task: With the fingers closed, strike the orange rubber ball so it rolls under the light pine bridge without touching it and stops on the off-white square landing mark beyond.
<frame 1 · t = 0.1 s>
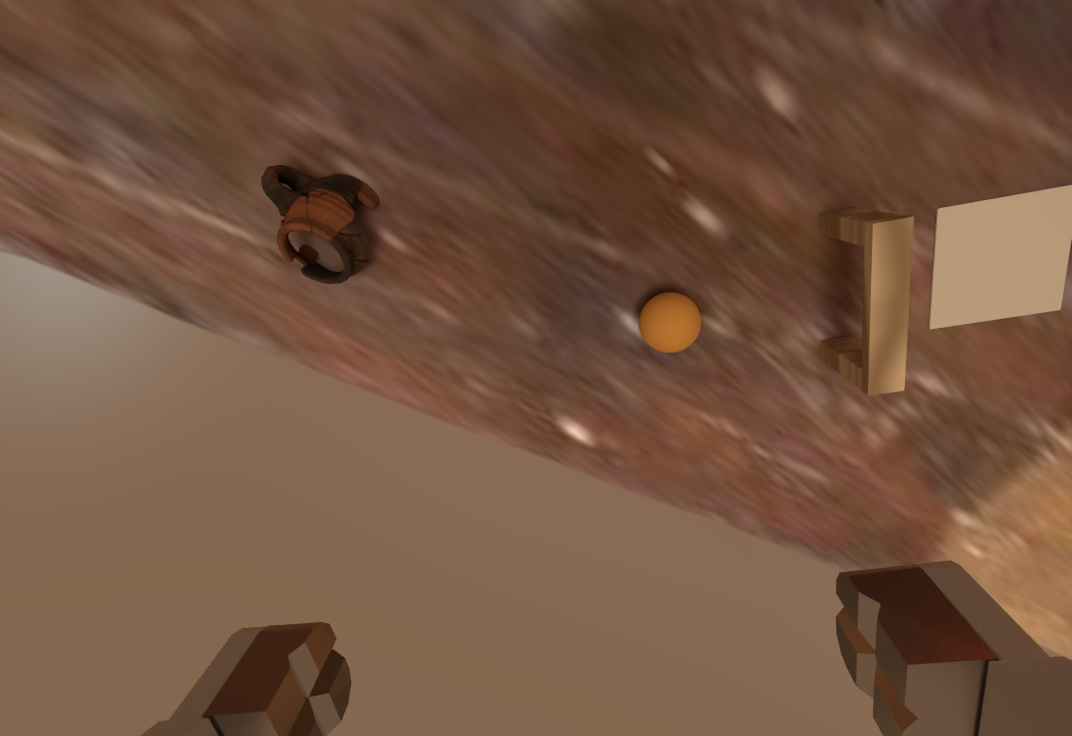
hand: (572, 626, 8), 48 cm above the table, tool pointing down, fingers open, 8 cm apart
landing mark: (999, 260, 51), on the table
bridge: (835, 286, 53), on the table
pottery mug: (335, 216, 54), on the table
ball: (669, 322, 52), on the table
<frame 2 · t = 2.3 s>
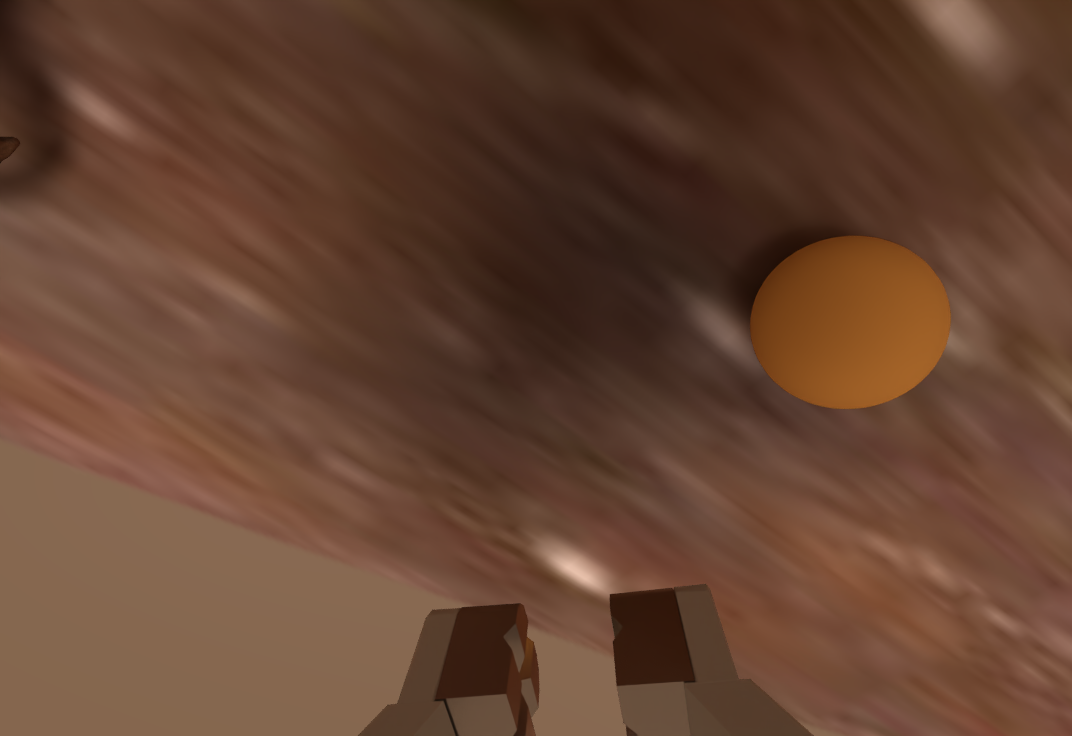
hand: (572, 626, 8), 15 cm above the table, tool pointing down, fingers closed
ball: (842, 323, 18), on the table
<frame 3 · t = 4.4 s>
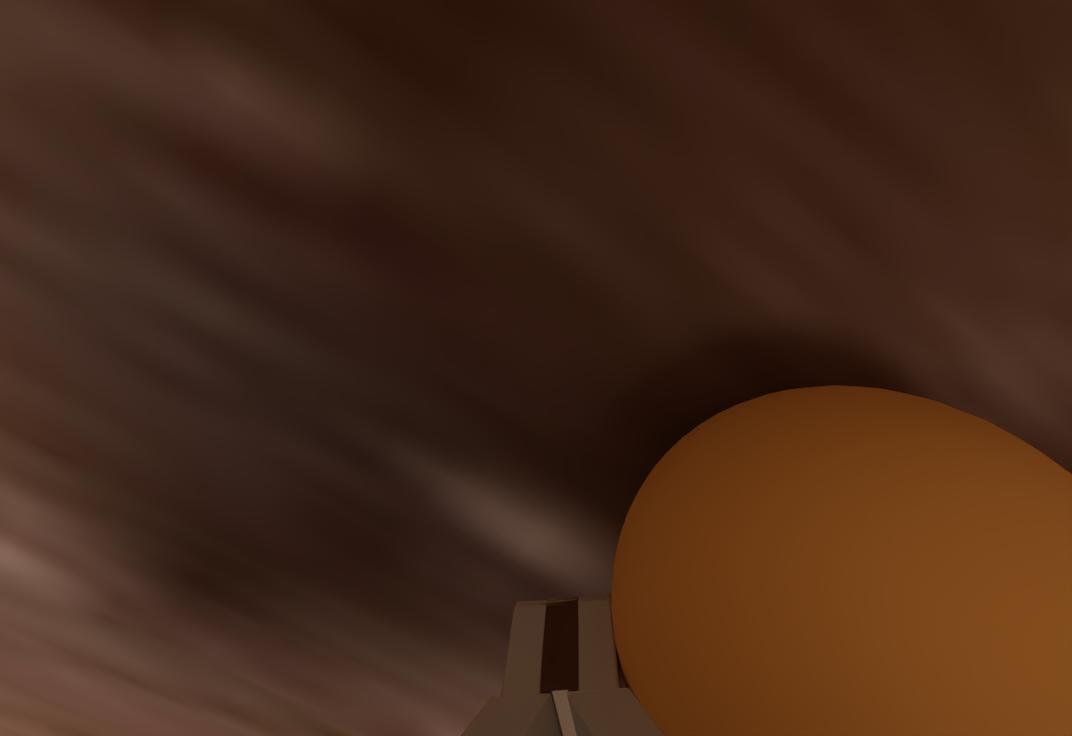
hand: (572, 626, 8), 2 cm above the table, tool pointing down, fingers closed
ball: (841, 613, 7), on the table, touching gripper
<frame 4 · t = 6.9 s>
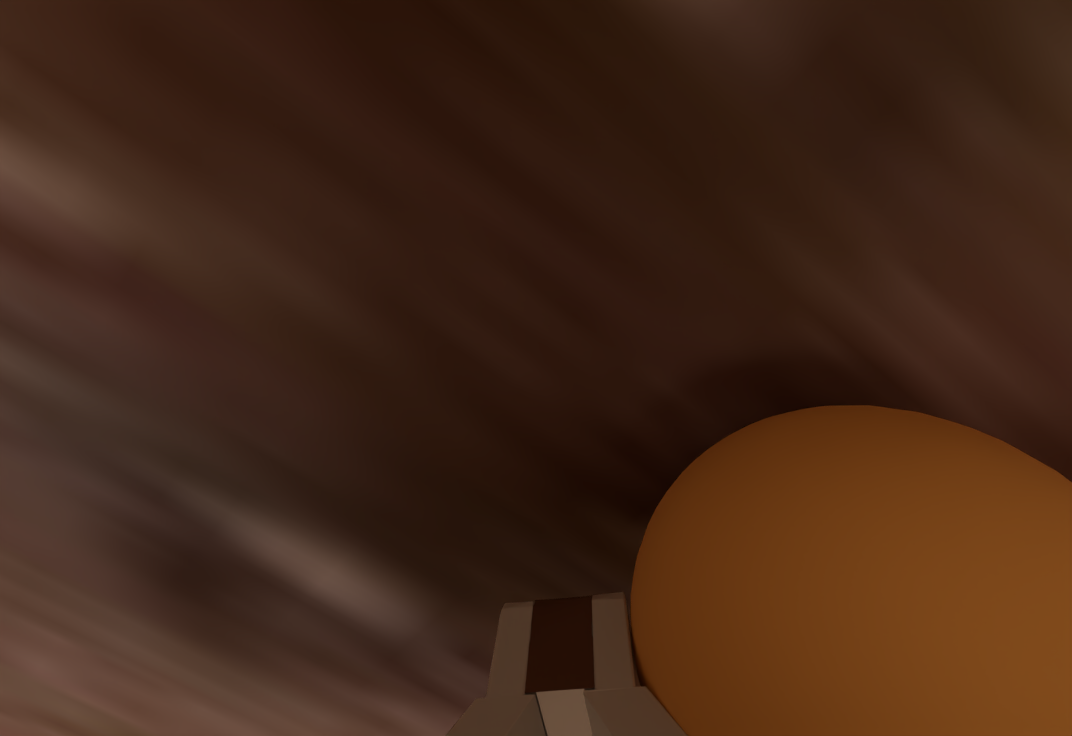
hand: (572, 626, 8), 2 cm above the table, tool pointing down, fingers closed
ball: (859, 631, 7), on the table, touching gripper
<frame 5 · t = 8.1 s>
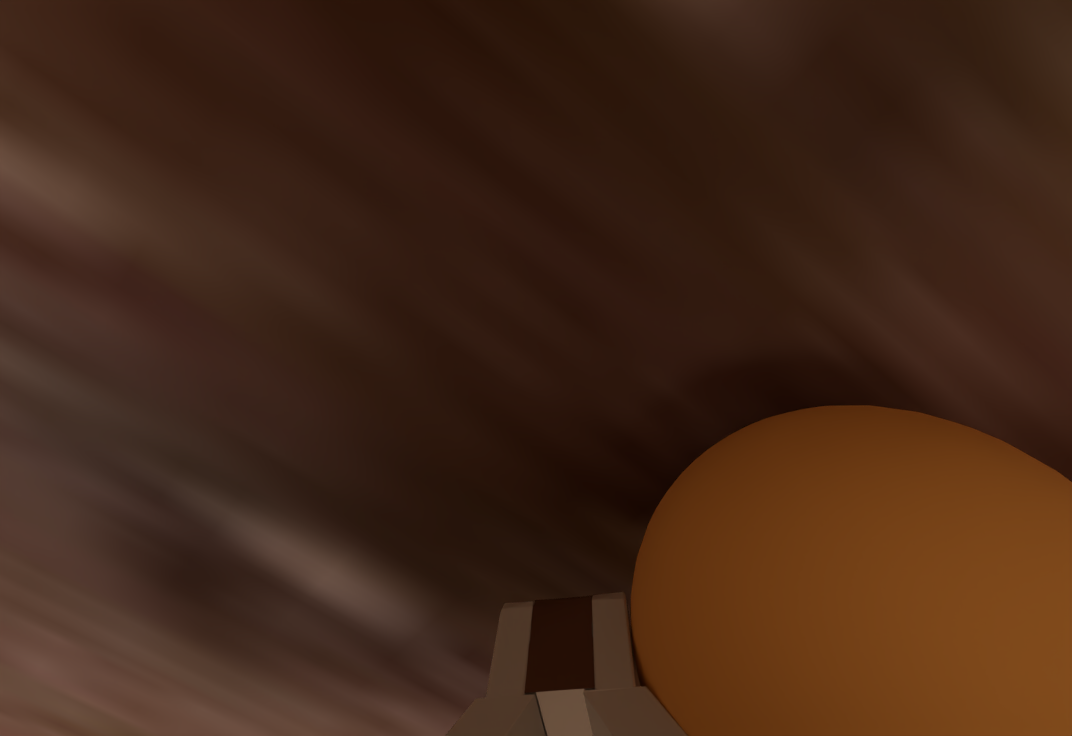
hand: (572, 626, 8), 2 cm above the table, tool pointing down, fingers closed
ball: (860, 631, 7), on the table, touching gripper
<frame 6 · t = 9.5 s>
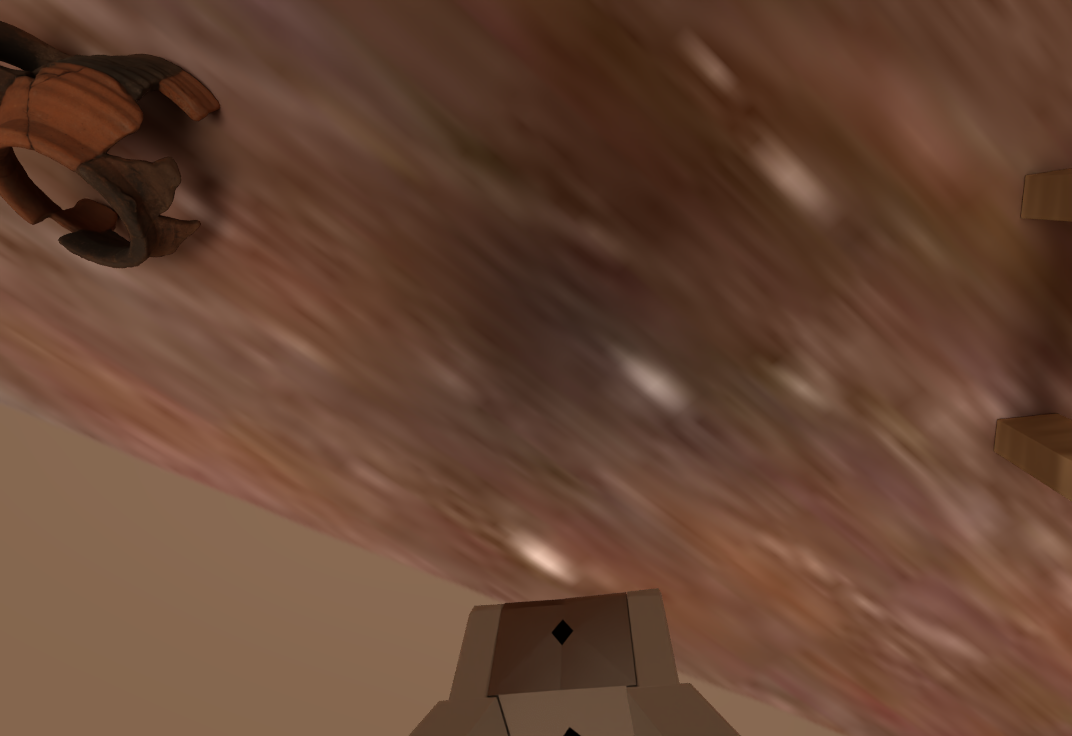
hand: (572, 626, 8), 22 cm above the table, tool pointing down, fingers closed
bridge: (1039, 320, 27), on the table
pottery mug: (145, 143, 29), on the table
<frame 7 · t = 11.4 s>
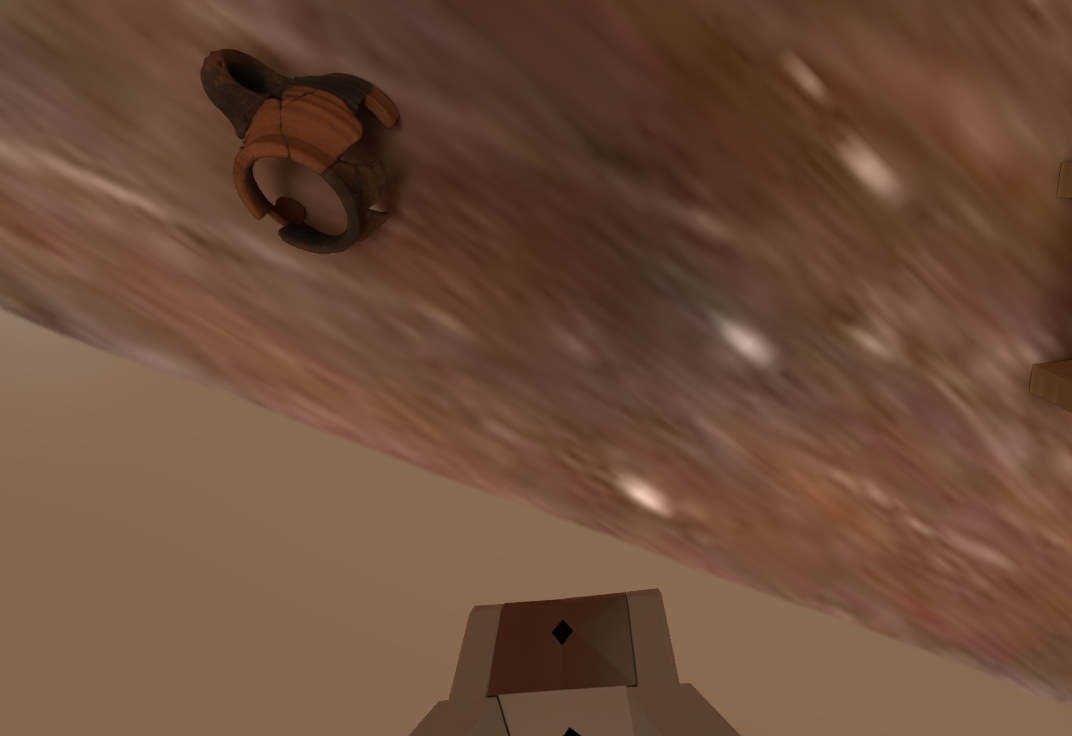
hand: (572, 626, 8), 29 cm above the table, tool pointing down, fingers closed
bridge: (1070, 281, 34), on the table
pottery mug: (331, 147, 34), on the table
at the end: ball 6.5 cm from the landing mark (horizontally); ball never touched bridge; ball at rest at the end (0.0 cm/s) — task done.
